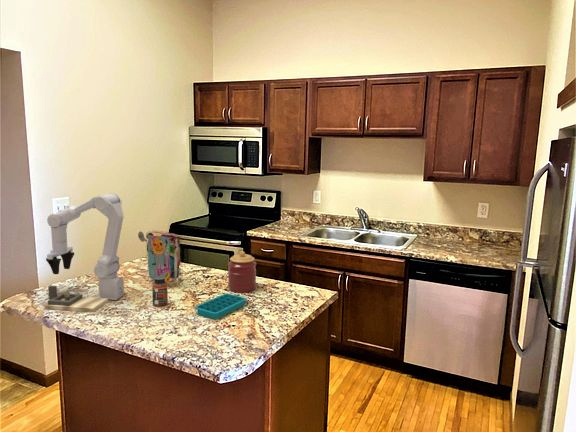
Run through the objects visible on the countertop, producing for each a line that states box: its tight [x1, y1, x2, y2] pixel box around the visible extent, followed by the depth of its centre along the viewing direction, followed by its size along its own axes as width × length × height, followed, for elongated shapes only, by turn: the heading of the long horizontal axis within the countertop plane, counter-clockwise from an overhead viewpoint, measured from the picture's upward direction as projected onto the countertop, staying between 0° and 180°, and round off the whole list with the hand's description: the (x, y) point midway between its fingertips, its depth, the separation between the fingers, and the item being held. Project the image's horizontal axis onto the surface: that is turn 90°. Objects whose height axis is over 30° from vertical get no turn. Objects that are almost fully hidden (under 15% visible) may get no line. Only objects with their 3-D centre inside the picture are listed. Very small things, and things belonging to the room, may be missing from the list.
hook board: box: [44, 291, 109, 313], centre depth 169 cm, size 20×11×5 cm, turn 84°
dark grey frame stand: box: [47, 284, 84, 306], centre depth 169 cm, size 11×9×6 cm
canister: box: [227, 250, 257, 293], centre depth 193 cm, size 13×13×18 cm
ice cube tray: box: [194, 293, 248, 320], centre depth 169 cm, size 12×20×3 cm, turn 148°
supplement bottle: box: [151, 277, 169, 307], centre depth 172 cm, size 6×6×11 cm
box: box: [137, 230, 184, 288], centre depth 198 cm, size 25×6×24 cm, turn 62°
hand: (61, 271), depth 182 cm, fingers open, 7 cm apart
